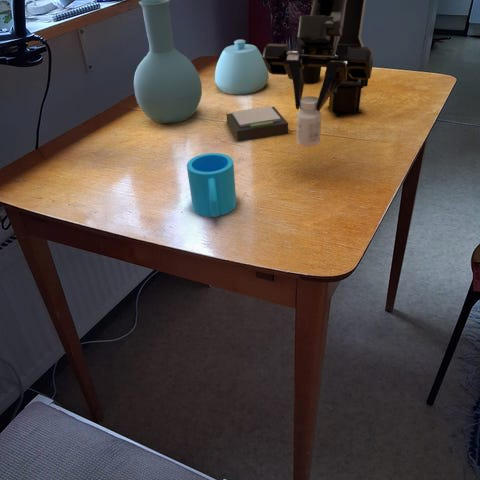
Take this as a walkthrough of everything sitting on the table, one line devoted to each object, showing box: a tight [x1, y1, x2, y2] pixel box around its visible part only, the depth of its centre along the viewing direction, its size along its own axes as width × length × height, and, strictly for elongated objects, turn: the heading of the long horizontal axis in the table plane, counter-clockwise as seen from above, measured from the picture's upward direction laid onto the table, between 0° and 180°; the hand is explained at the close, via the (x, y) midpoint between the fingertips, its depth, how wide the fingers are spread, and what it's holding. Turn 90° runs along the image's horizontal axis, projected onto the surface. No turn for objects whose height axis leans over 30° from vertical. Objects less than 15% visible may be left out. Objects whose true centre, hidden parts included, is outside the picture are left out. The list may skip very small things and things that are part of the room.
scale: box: [225, 105, 289, 142], centre depth 113 cm, size 12×11×3 cm
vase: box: [133, 0, 203, 124], centre depth 114 cm, size 16×16×25 cm
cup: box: [296, 31, 322, 85], centre depth 132 cm, size 8×8×12 cm
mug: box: [186, 152, 237, 218], centre depth 85 cm, size 12×8×8 cm
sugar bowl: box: [214, 39, 270, 95], centre depth 132 cm, size 15×15×12 cm
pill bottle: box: [296, 95, 322, 148], centre depth 88 cm, size 4×4×8 cm
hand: (307, 109), depth 85 cm, fingers closed on pill bottle, 3 cm apart
